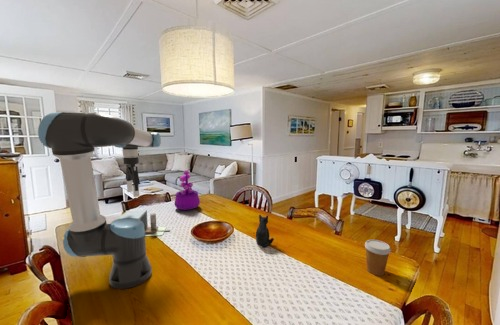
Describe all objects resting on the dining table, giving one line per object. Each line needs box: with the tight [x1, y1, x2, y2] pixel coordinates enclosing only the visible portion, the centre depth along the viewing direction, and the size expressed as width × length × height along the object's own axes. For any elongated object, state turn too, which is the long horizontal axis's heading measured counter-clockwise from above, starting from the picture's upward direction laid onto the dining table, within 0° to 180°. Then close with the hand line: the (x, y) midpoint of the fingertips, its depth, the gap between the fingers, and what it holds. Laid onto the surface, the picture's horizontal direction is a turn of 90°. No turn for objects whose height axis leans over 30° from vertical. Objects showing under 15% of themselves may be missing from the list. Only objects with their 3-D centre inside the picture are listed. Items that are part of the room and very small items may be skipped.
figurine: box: [255, 214, 275, 248], centre depth 118 cm, size 10×10×15 cm
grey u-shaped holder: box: [140, 212, 159, 234], centre depth 132 cm, size 7×16×10 cm, turn 97°
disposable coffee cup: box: [364, 239, 392, 277], centre depth 95 cm, size 10×10×12 cm
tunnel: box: [117, 209, 171, 233], centre depth 132 cm, size 14×33×11 cm, turn 97°
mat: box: [145, 226, 168, 237], centre depth 134 cm, size 11×10×1 cm
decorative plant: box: [174, 169, 201, 211], centre depth 173 cm, size 19×18×30 cm
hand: (133, 194), depth 129 cm, fingers open, 13 cm apart
